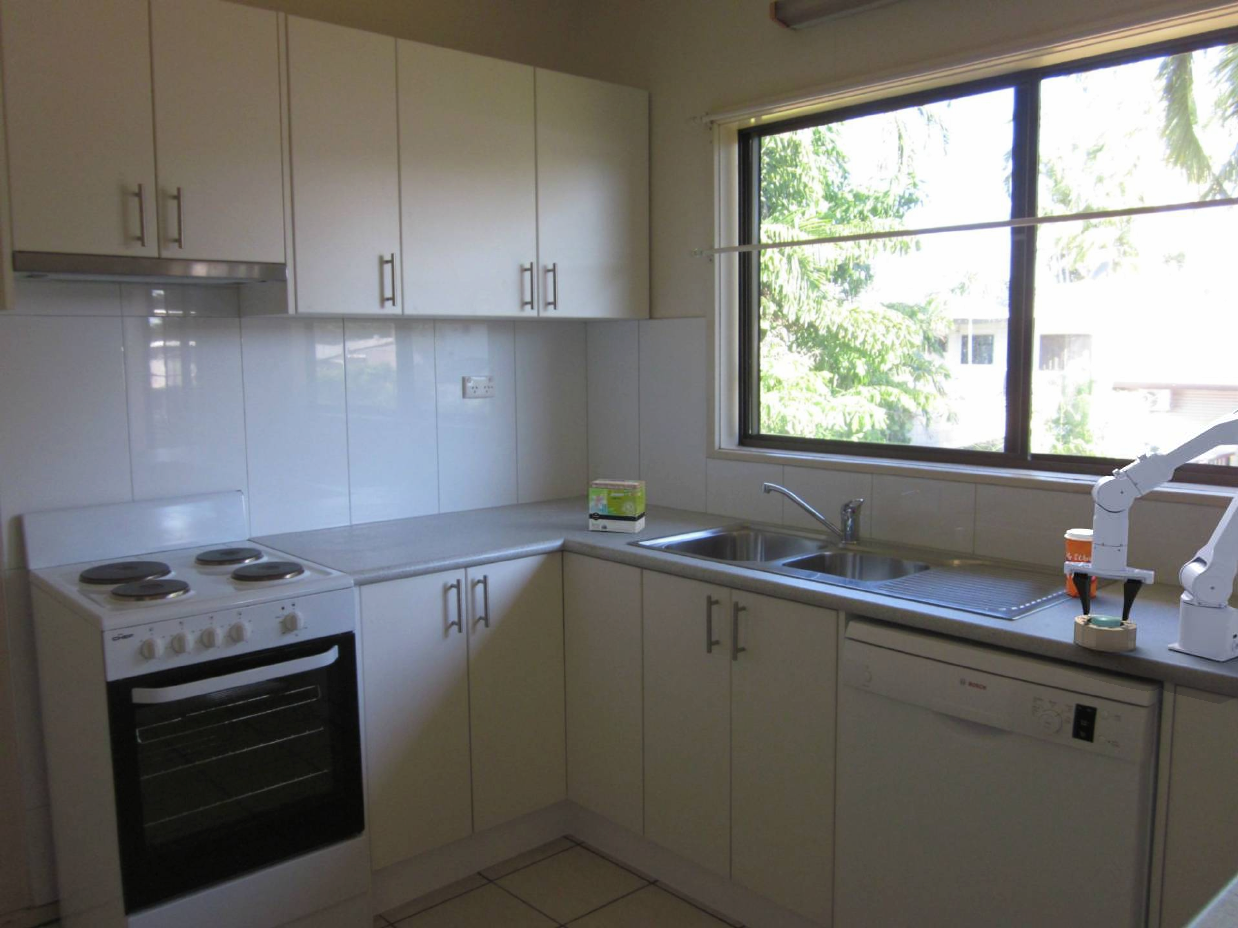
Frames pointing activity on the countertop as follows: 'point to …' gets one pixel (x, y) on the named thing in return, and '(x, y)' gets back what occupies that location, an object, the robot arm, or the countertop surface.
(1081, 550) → the paper cup
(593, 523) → the tea box
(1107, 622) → the teal rounded cylinder
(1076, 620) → the brown faceted tube
